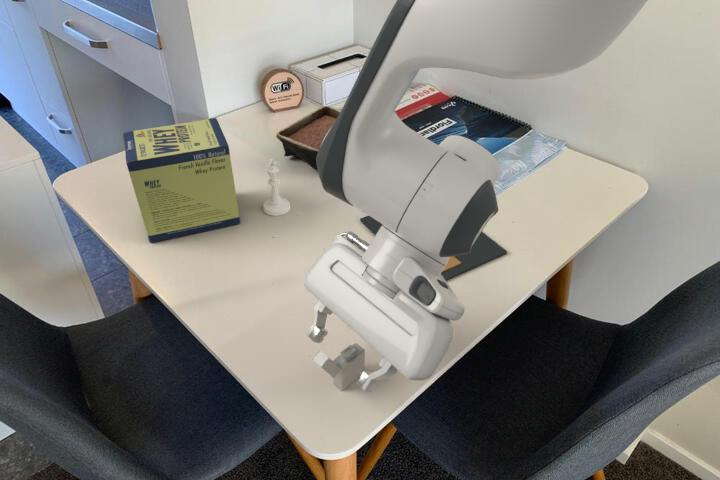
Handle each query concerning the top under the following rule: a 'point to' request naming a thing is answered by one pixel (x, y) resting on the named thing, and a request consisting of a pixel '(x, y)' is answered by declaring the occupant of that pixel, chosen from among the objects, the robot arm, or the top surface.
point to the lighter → (343, 365)
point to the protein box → (182, 178)
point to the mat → (460, 264)
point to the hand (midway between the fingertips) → (337, 362)
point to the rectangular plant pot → (308, 134)
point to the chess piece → (275, 194)
